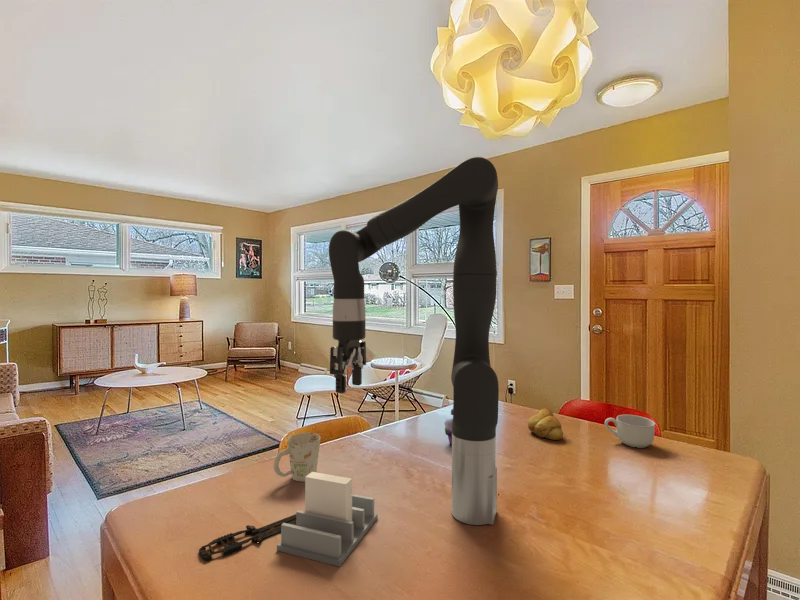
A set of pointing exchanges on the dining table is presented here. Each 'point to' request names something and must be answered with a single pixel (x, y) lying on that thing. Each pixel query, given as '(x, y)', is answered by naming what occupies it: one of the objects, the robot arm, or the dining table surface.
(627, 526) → the dining table surface
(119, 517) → the dining table surface
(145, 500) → the dining table surface
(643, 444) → the teacup
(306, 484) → the cream rectangular block
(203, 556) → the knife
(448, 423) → the potion bottle
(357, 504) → the dish rack
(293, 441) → the mug
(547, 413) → the bread roll
